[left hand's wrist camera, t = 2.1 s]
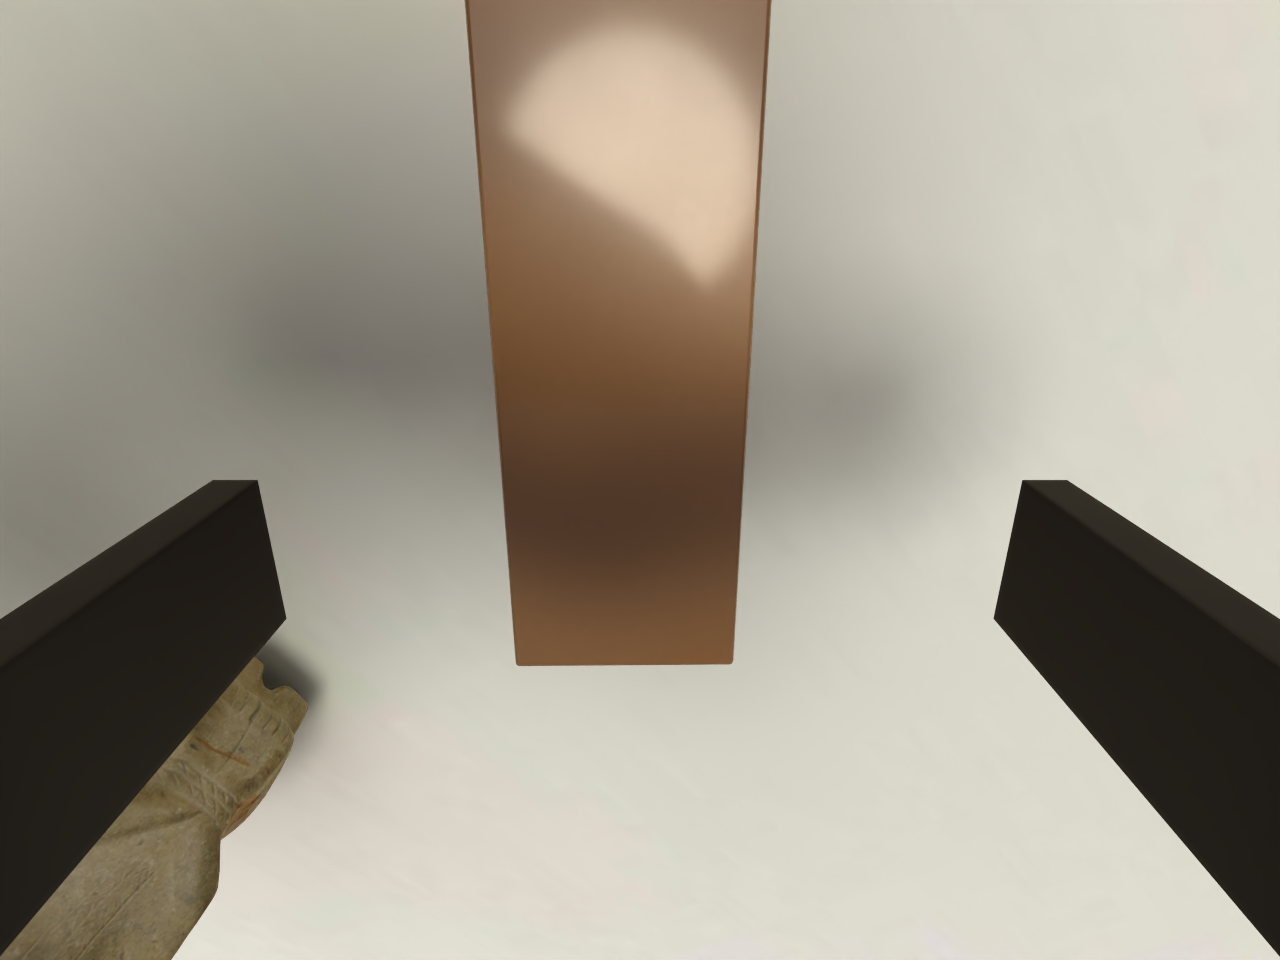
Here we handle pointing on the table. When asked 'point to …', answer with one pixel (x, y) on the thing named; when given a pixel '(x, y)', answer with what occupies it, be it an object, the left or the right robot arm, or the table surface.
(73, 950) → the sculpture
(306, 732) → the table surface
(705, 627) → the bar
